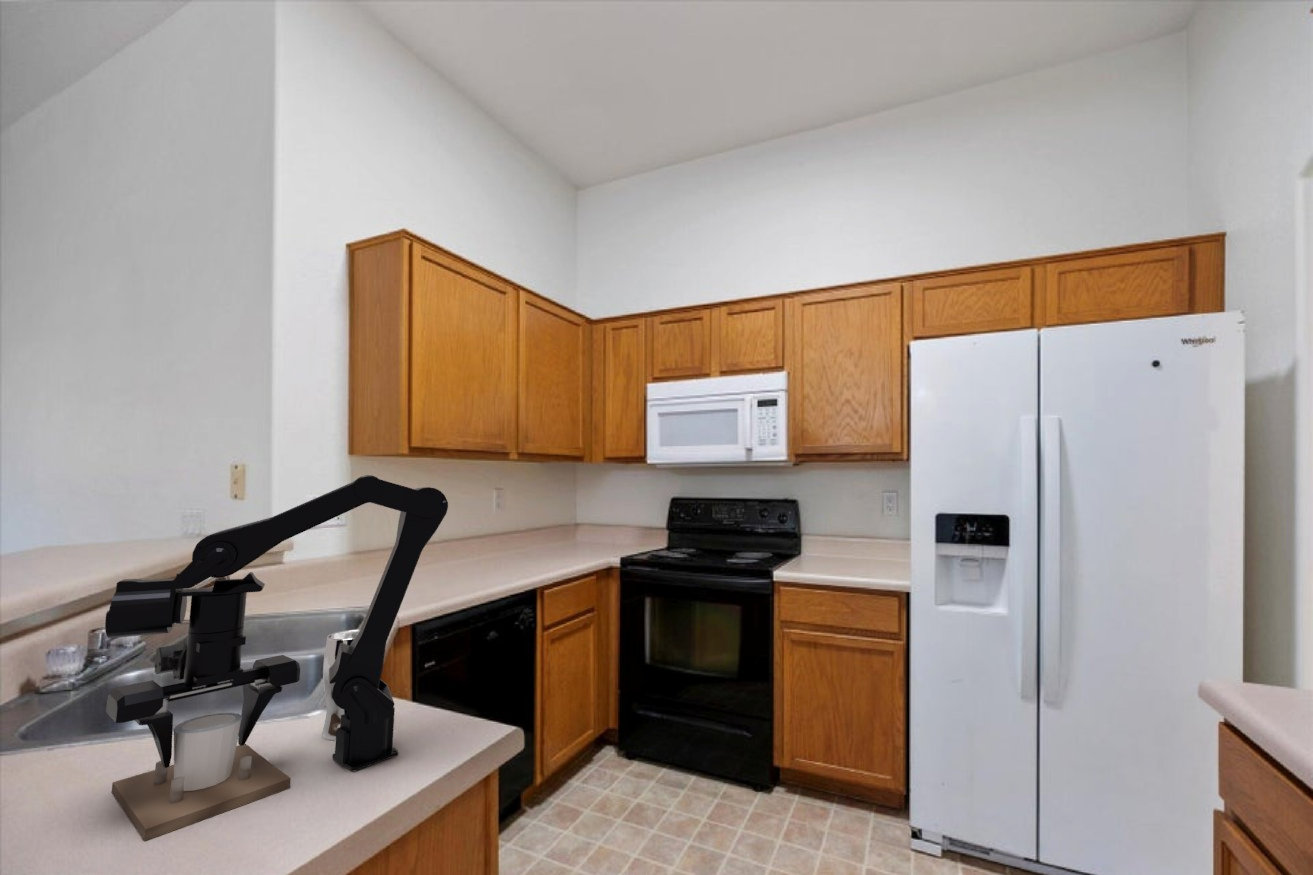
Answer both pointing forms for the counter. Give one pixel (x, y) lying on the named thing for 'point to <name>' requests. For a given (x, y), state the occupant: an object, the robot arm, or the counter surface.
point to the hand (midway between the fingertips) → (205, 755)
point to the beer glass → (331, 708)
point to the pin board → (194, 794)
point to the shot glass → (205, 749)
